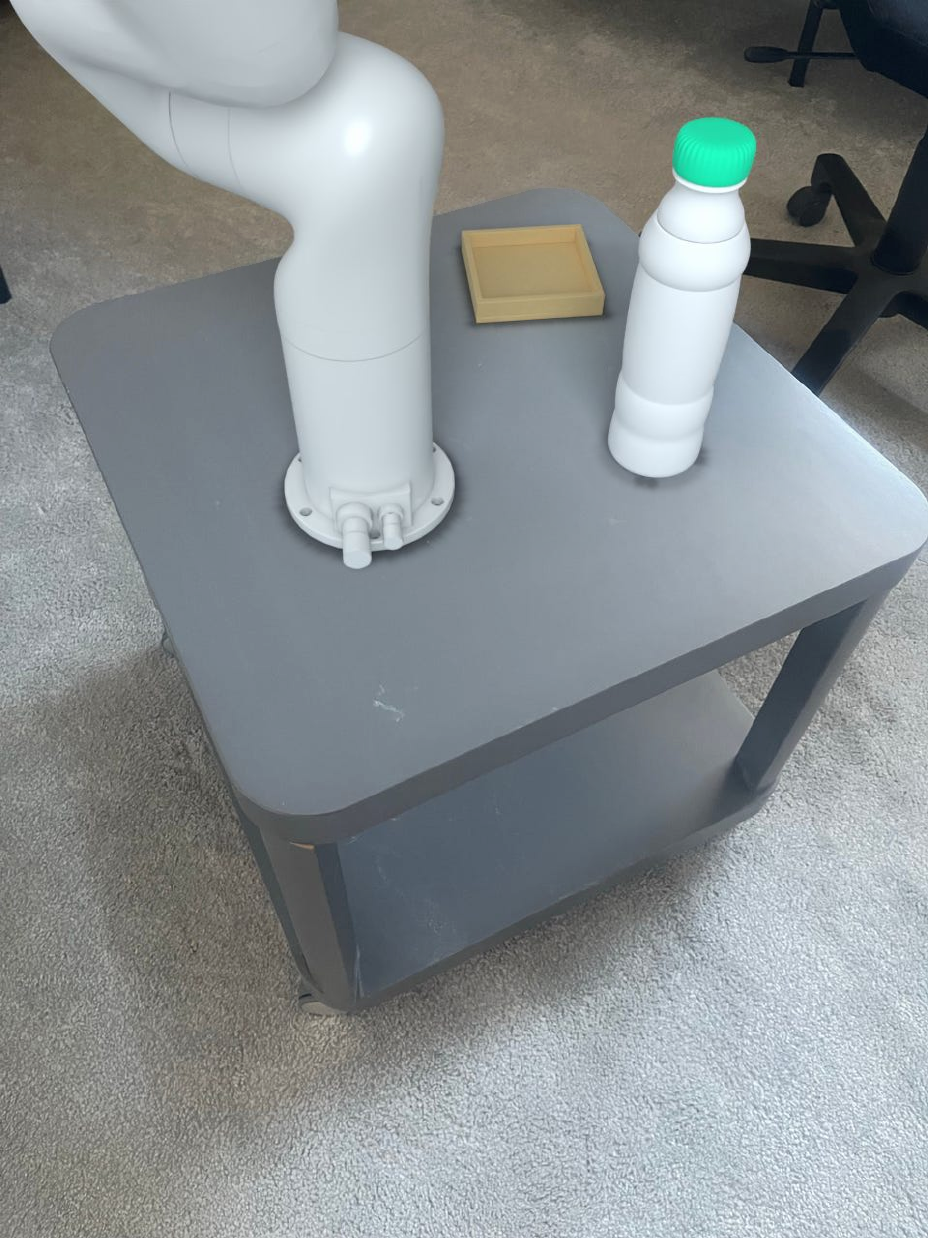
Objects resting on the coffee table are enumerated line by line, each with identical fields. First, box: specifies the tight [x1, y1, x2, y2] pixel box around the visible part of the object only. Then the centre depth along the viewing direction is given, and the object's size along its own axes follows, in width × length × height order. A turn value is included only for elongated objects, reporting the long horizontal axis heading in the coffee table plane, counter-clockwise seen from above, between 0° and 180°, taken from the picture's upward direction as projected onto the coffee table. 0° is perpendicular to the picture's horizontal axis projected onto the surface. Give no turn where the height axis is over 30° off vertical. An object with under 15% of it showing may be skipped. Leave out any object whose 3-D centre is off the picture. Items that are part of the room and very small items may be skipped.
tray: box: [461, 223, 606, 324], centre depth 91 cm, size 11×11×2 cm
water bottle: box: [607, 116, 757, 479], centre depth 68 cm, size 7×7×25 cm
